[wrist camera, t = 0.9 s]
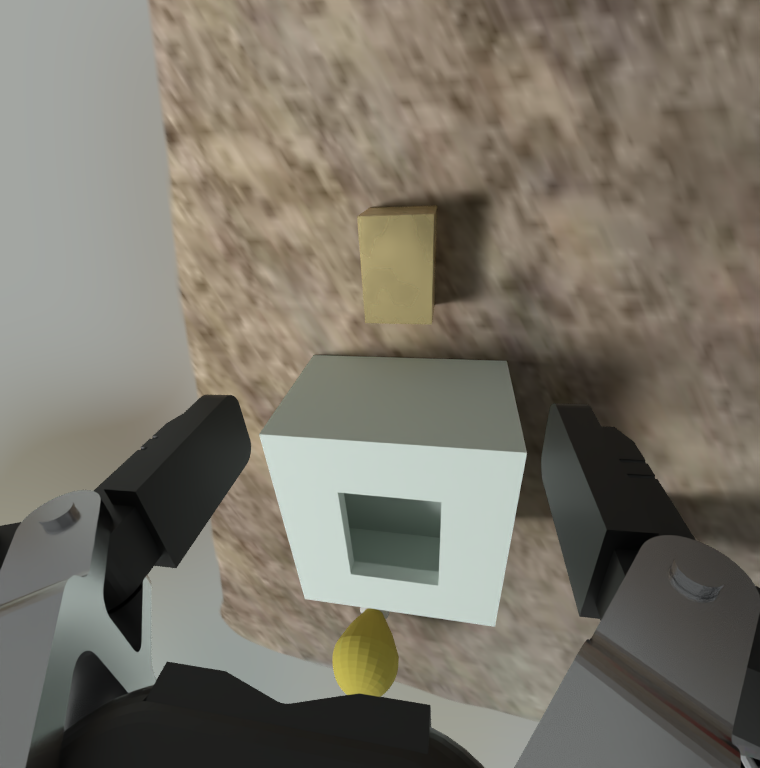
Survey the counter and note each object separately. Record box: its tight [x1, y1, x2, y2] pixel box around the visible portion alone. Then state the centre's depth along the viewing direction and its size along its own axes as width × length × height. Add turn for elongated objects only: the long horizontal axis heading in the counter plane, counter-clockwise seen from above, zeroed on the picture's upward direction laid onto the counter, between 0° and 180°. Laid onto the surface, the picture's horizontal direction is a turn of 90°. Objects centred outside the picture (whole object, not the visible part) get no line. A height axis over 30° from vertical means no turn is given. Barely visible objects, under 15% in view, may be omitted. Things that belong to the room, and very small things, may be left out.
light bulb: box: [333, 607, 399, 697], centre depth 41 cm, size 7×7×10 cm
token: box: [357, 206, 437, 324], centre depth 23 cm, size 6×4×4 cm, turn 3°
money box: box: [259, 355, 527, 627], centre depth 28 cm, size 16×14×10 cm
